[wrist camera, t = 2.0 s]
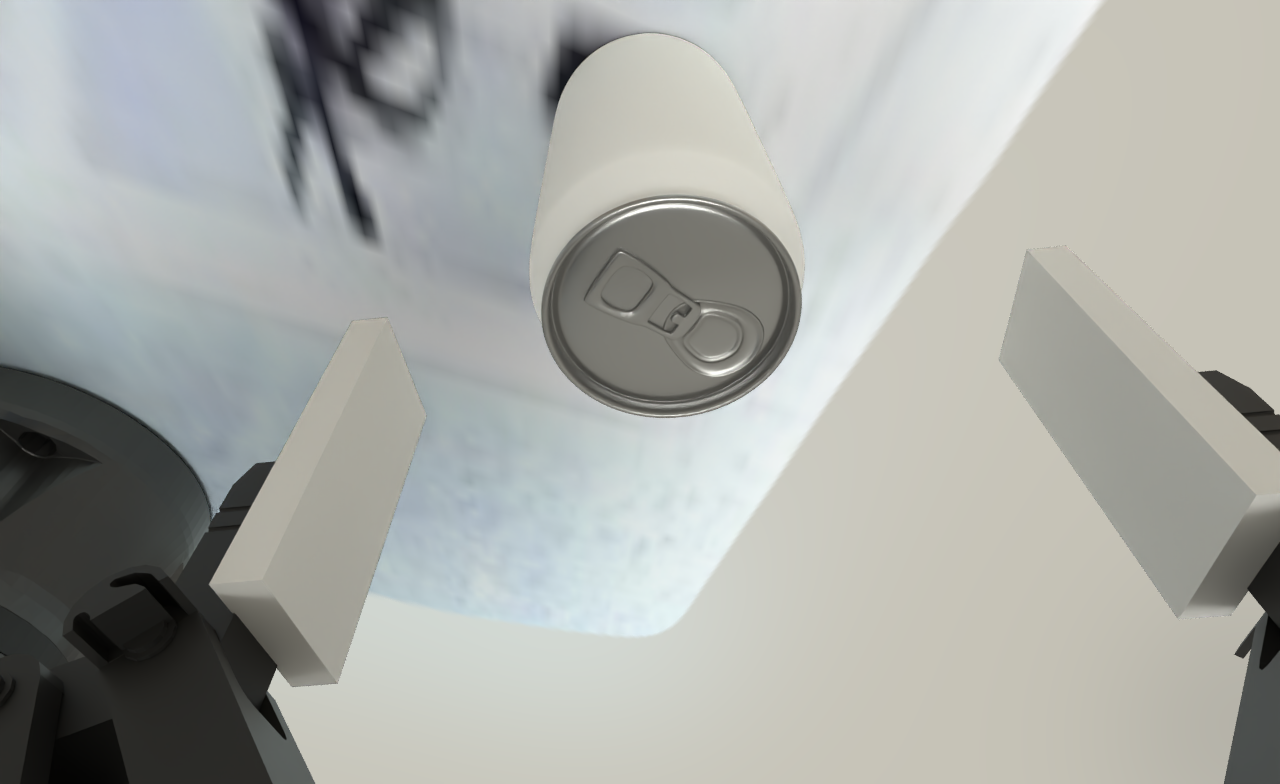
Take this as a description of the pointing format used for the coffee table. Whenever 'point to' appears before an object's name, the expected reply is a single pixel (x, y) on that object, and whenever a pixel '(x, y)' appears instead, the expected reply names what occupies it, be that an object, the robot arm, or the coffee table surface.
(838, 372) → the coffee table surface
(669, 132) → the can
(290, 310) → the coffee table surface
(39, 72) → the coffee table surface
